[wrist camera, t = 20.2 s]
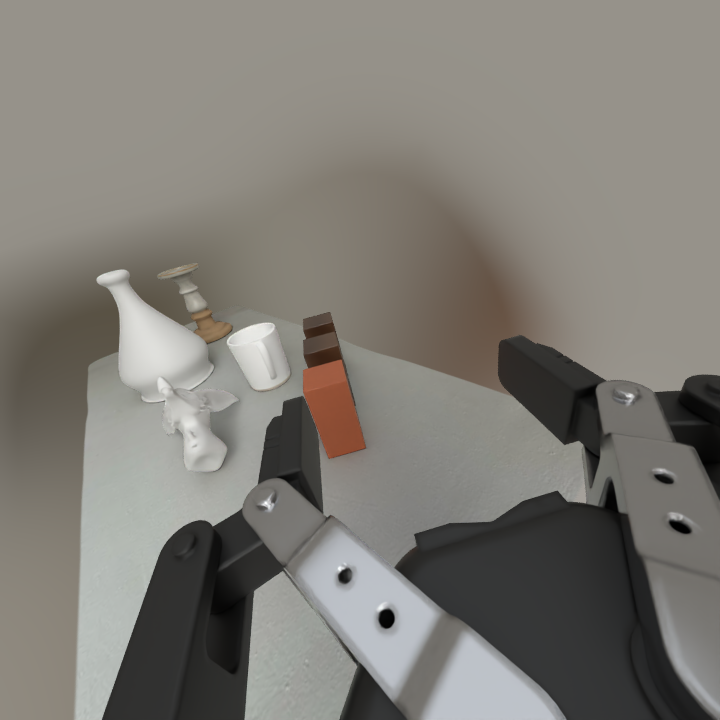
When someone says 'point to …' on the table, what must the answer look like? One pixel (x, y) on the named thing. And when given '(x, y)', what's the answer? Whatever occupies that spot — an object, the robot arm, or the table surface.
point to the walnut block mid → (323, 351)
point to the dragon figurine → (195, 423)
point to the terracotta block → (333, 408)
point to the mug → (260, 356)
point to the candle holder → (196, 304)
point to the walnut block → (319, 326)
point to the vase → (154, 344)
